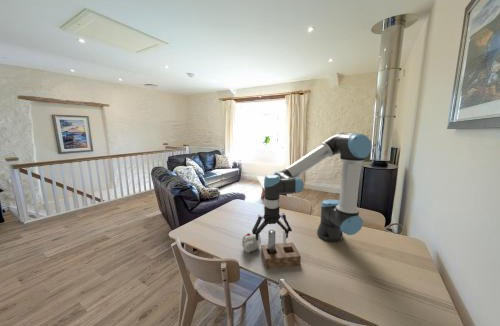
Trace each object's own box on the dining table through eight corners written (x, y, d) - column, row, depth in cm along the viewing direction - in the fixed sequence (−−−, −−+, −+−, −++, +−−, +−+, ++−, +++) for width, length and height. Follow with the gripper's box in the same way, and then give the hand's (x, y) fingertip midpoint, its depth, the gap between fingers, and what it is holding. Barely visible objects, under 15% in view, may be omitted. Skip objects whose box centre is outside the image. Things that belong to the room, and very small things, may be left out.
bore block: (292, 250, 114) (293, 242, 113) (300, 264, 102) (300, 256, 101) (261, 253, 112) (261, 245, 111) (265, 268, 100) (265, 259, 99)
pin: (274, 255, 108) (274, 229, 106) (275, 259, 105) (276, 233, 102) (267, 255, 108) (267, 230, 105) (269, 260, 105) (269, 233, 102)
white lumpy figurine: (246, 257, 108) (238, 245, 122) (265, 252, 112) (255, 241, 126) (245, 241, 107) (237, 230, 121) (264, 236, 111) (254, 227, 125)
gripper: (293, 201, 106) (292, 238, 110) (246, 204, 103) (247, 242, 107) (298, 207, 99) (297, 246, 103) (247, 210, 96) (248, 250, 100)
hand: (271, 244), depth 105 cm, fingers open, 13 cm apart
